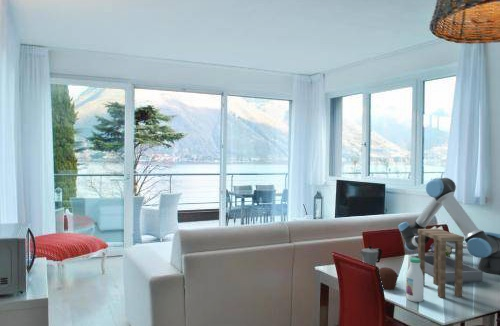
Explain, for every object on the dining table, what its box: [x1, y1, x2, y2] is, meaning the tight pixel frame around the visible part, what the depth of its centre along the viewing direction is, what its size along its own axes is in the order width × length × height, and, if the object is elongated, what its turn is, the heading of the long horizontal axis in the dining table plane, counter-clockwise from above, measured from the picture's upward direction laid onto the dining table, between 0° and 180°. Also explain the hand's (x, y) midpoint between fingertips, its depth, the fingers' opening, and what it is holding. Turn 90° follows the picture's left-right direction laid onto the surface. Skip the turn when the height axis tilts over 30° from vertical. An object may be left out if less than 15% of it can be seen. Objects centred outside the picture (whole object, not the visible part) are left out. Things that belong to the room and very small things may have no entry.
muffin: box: [378, 267, 399, 291], centre depth 205 cm, size 12×11×10 cm
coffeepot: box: [360, 244, 383, 267], centre depth 224 cm, size 15×9×18 cm, turn 113°
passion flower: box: [427, 242, 450, 257], centre depth 269 cm, size 11×11×12 cm
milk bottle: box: [405, 257, 425, 303], centre depth 188 cm, size 8×8×20 cm
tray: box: [410, 254, 484, 285], centre depth 229 cm, size 35×22×6 cm, turn 7°
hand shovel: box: [446, 241, 468, 250], centre depth 229 cm, size 29×9×3 cm, turn 7°
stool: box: [417, 228, 465, 299], centre depth 200 cm, size 21×12×30 cm, turn 7°
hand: (439, 228), depth 234 cm, fingers open, 3 cm apart
